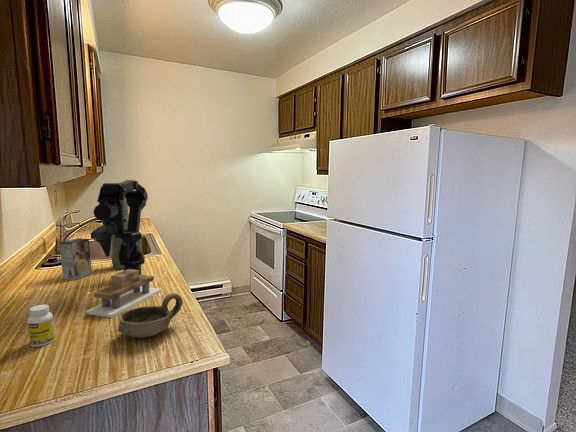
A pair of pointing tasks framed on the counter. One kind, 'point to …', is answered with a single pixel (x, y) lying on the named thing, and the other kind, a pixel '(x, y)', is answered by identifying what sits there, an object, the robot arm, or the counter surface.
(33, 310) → the supplement bottle
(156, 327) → the bowl
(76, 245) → the coffee box
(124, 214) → the thermos
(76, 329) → the counter surface
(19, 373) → the counter surface
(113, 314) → the peg stand
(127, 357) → the counter surface
